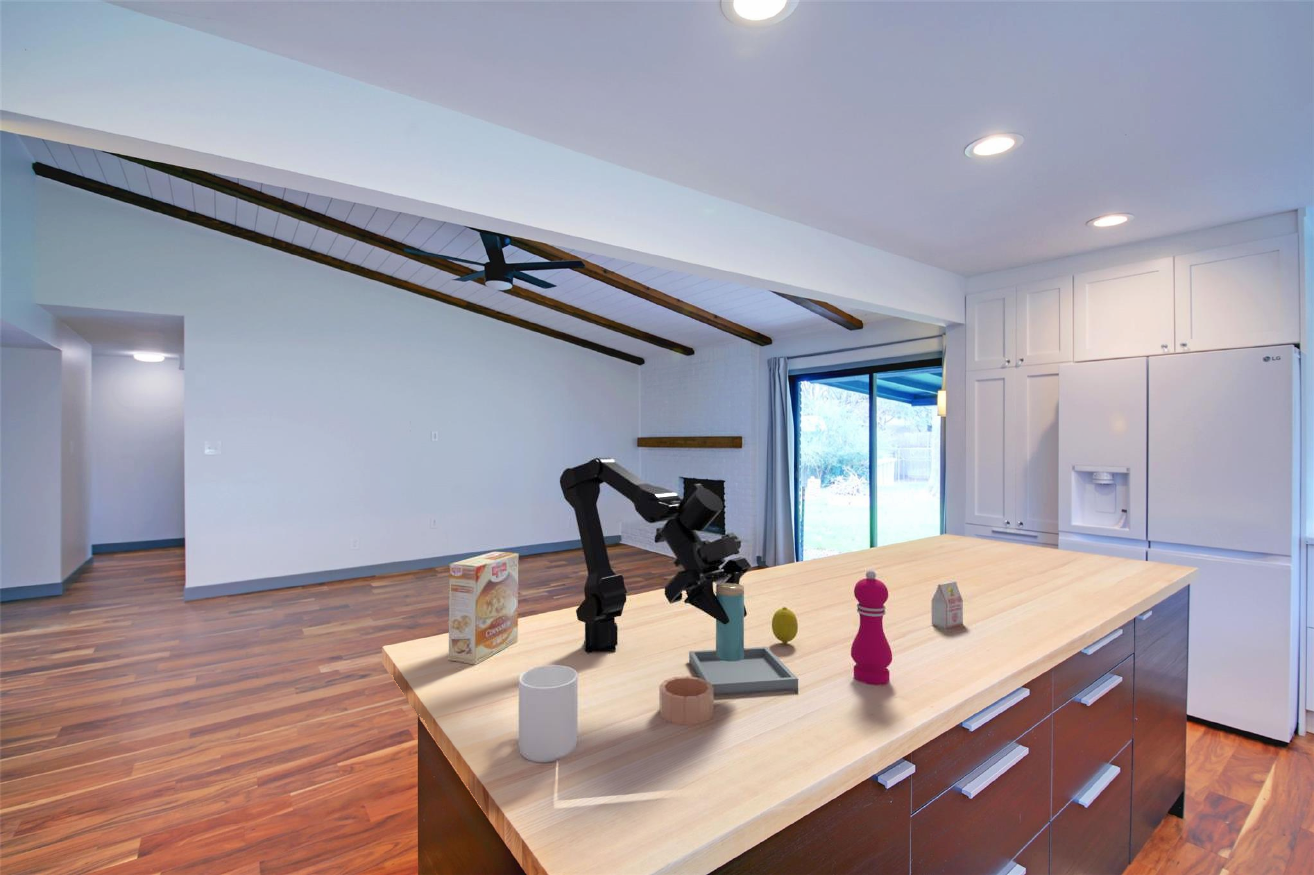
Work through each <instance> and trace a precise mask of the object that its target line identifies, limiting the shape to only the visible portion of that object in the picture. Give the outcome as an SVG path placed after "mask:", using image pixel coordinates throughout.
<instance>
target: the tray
mask: <svg viewBox="0 0 1314 875" xmlns="http://www.w3.org/2000/svg"><path fill="white" fill-rule="evenodd" d="M688 658H689V659H688V663H689V664H690V665H691V667H692V668H693V670H694V672H695V674H696V676H697V678H701V679H704V680H706V681H708V682H710V683H711V685H712V687H713V688H714V697H715V696H730V695H731V696H733V695H745V694H748V695H749V694H761V693H770V692H771V693H772V692H787V691H788V692H789V691H792V692H794V693H795V694H799V678H798V677H797V676H796V675H795V674H794V673H793V672H792V671H791V670H790V669H789V668H788V667H787V666H786V664H784V663H783V661H781V660H780V659H779V657H777V656H776V655H775V653H773V651H771V649H769V648H768V647H767V646H759V647H744V658H743V659H742V660H740V661H723V660H720V659H718V658H717V657H716V649H705V650H704V649H703V650H689V651H688Z"/></svg>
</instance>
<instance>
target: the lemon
mask: <svg viewBox="0 0 1314 875" xmlns="http://www.w3.org/2000/svg"><path fill="white" fill-rule="evenodd" d="M798 623H799V622H798V619H797V616H796V614H795V613H794V612H793V611H792V610H791V609H789V608H787V607H786V606H782V608H779V609H777V610H776V611H775V612H774V614H773V616H772V619H771V629H772V630H771V631H772V633H773V635H774V637H775V638H776V639H777V640H778V641H780V642H781V643H782V644H783V643H784V644H783V645H786V644H788V643H789V642H791V641H792V640H794V639H795V637H797V634H798V629H799V628H798V627H799V624H798Z"/></svg>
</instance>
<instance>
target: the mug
mask: <svg viewBox="0 0 1314 875" xmlns="http://www.w3.org/2000/svg"><path fill="white" fill-rule="evenodd" d="M578 676H579V675H578V672H577V671H576V670H575V668H573V667H570V666H565V665H559V664H558V665H557V664H556V665H555V664H549V665H541V666H534V667H532V668H530V669H527V670H525V671H524V672H522V673H521V674H520V675H519V676H518V748H519V752H520V754H521V755H522V756H523V757H524V758H525V759H526V760H528V761H531V762H535V763H541V764H542V763H553V762H557V761H560V758H561V757H564V756H566V755H568V754H570V753H571V752H572V751H574V749H575V748H576V747H577V744H578V720H579V719H578V713H579V712H578V709H579V707H578V702H579V701H578V700H579V699H578V695H579V694H578V693H579V692H578V690H579V686H578V682H579V679H578V678H579V677H578Z"/></svg>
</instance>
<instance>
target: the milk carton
mask: <svg viewBox="0 0 1314 875" xmlns="http://www.w3.org/2000/svg"><path fill="white" fill-rule="evenodd" d="M963 602H964V599H963V596H962V594H961V592H960V590H959V587H958V584H957V581H950V582H949V581H948V582H945V583H941V584H938V585H937V587H936V590H935V592H934V594H933V597H932V598H931V625H932V624H933V625H932V626H935V625H937V626H936V627H938V626H940V627H939V628H942V627H944V628H943V629H945V628H947V629H950V627H951V628H953V627H954V626H955V627H957V626H958V627H959V626H962V625H964V611H963V610H964V607H963V606H964V605H963V604H964V603H963Z"/></svg>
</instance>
